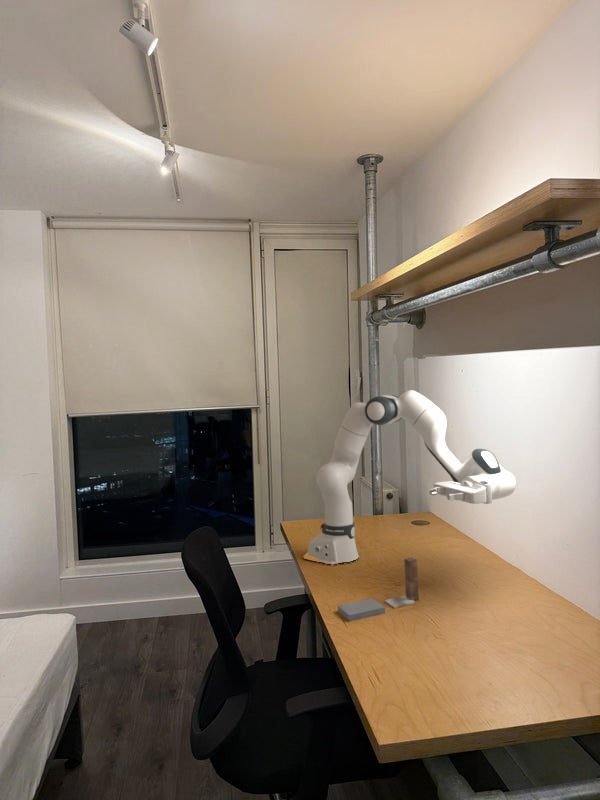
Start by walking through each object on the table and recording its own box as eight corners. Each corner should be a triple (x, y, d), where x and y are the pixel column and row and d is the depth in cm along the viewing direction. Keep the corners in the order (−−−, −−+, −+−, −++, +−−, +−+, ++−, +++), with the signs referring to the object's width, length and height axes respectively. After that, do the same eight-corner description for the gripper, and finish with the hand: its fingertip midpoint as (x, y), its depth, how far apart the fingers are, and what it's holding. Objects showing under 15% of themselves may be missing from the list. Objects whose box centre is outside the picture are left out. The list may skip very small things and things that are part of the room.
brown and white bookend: (411, 595, 183) (409, 556, 182) (421, 601, 177) (419, 560, 177) (384, 601, 179) (382, 561, 178) (394, 608, 174) (392, 566, 173)
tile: (372, 598, 178) (337, 605, 174) (384, 607, 171) (349, 615, 166) (372, 604, 178) (338, 612, 174) (385, 614, 171) (349, 622, 166)
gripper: (453, 475, 197) (420, 480, 192) (494, 484, 179) (459, 490, 173) (454, 493, 198) (421, 498, 192) (495, 504, 179) (459, 510, 173)
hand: (439, 495), depth 183 cm, fingers open, 8 cm apart
